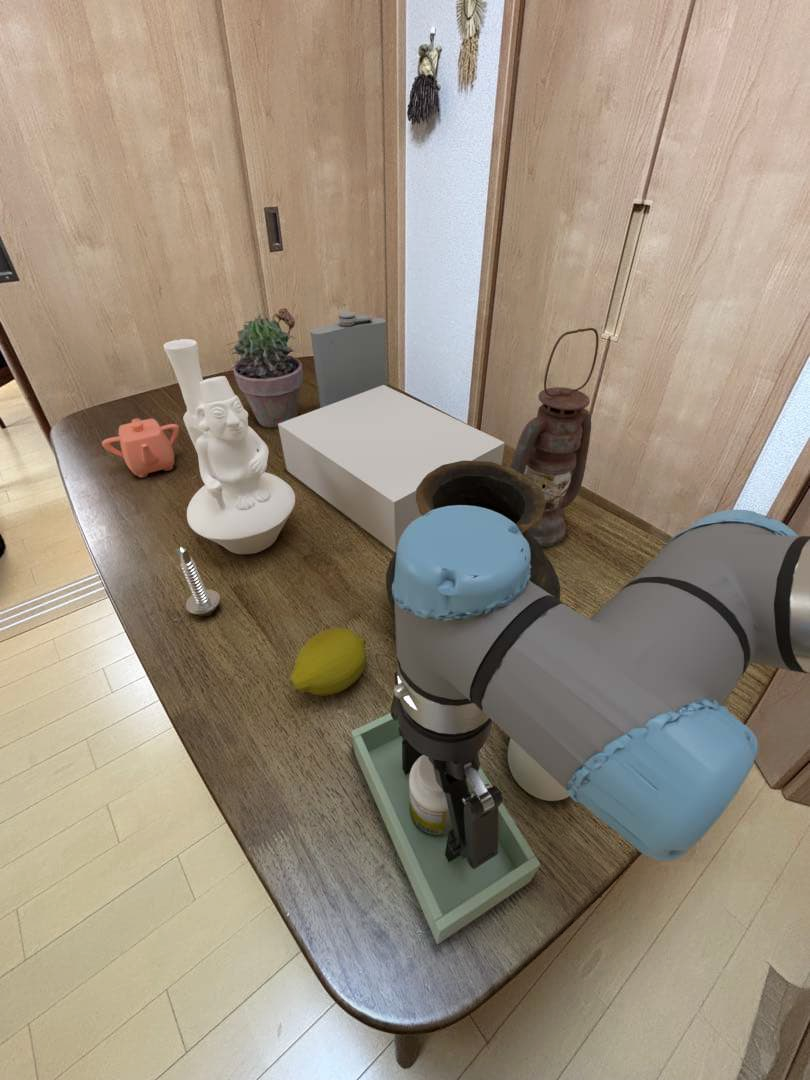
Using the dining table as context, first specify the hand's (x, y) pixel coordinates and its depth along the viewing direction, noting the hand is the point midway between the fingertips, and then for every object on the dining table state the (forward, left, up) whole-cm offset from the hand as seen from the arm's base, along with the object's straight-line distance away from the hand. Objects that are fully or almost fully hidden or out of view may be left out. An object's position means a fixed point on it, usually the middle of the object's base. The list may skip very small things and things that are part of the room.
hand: (435, 806), depth 51 cm
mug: (0, -14, -2) cm, 14 cm away
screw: (+40, +17, -2) cm, 44 cm away
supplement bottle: (0, 0, -1) cm, 1 cm away
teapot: (+87, +20, -2) cm, 90 cm away
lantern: (+33, -40, -2) cm, 52 cm away
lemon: (+20, +4, -2) cm, 21 cm away
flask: (+87, -27, -2) cm, 92 cm away
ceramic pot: (+21, -18, -2) cm, 28 cm away
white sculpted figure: (+56, +7, -2) cm, 57 cm away
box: (+59, -23, -2) cm, 64 cm away
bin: (0, 0, -2) cm, 2 cm away
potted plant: (+96, -9, -2) cm, 97 cm away
